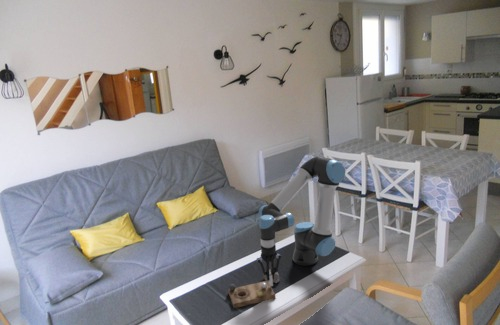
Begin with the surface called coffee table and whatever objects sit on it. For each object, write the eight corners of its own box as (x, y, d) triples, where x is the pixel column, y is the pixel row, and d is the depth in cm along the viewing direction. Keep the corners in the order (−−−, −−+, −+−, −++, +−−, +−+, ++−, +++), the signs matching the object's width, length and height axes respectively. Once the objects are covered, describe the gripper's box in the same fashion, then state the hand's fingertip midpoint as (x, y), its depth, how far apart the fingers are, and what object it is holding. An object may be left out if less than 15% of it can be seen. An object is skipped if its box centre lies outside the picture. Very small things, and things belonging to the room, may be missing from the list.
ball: (266, 286, 202) (265, 280, 201) (268, 290, 199) (267, 284, 198) (259, 287, 202) (259, 282, 201) (261, 291, 198) (261, 285, 197)
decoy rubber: (235, 287, 204) (234, 281, 203) (236, 291, 200) (235, 285, 199) (228, 289, 203) (228, 283, 202) (230, 292, 199) (229, 287, 198)
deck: (267, 284, 208) (267, 280, 207) (275, 298, 196) (275, 294, 195) (228, 293, 203) (228, 289, 202) (233, 308, 191) (233, 303, 190)
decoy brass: (261, 293, 197) (261, 287, 196) (263, 297, 193) (263, 291, 192) (255, 295, 196) (254, 289, 195) (257, 299, 193) (256, 293, 192)
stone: (284, 278, 212) (283, 269, 211) (274, 285, 207) (273, 276, 205) (271, 272, 219) (270, 263, 218) (261, 279, 214) (260, 270, 212)
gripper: (277, 239, 199) (280, 278, 206) (253, 243, 196) (257, 283, 203) (282, 245, 192) (284, 286, 199) (257, 250, 189) (261, 291, 196)
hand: (270, 284), depth 201 cm, fingers closed
